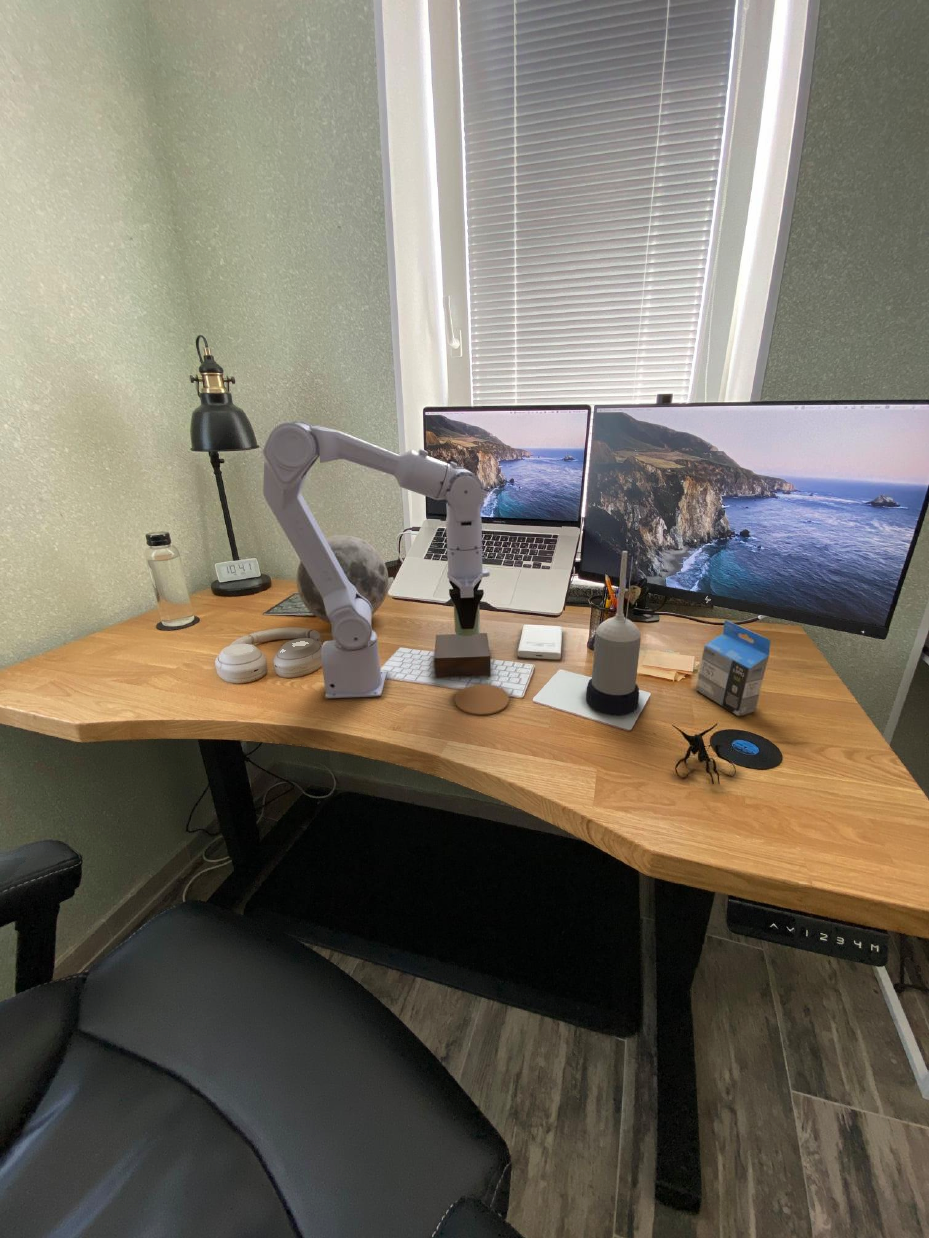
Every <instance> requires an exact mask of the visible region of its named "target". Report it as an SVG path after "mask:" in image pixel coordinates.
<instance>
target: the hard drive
mask: <svg viewBox="0 0 929 1238" xmlns="http://www.w3.org/2000/svg"><path fill="white" fill-rule="evenodd" d="M562 640H563V626H560V625H542V624H541V625H540V624H524V625H523V627H522V631H521V635H520V640H519V644H518V649H517V657H519V658H523V659H525V658H526V659H539V660H540V659H541V660H560V659H561V657H562Z"/></svg>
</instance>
